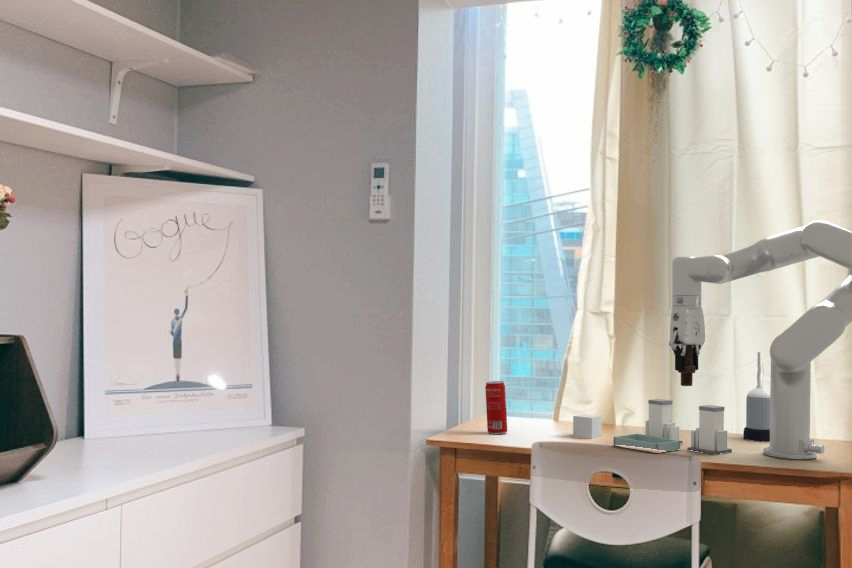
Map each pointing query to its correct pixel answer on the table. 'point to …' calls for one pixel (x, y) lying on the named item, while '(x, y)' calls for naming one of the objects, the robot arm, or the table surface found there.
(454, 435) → the table surface
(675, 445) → the tray
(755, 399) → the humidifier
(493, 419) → the beverage can
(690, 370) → the bolt
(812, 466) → the table surface
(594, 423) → the light grey cube
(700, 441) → the block
